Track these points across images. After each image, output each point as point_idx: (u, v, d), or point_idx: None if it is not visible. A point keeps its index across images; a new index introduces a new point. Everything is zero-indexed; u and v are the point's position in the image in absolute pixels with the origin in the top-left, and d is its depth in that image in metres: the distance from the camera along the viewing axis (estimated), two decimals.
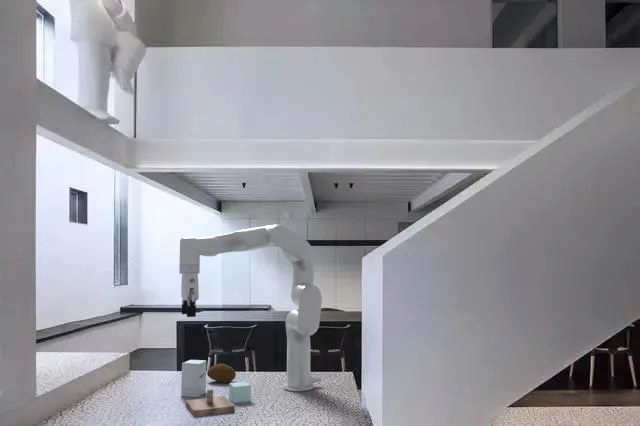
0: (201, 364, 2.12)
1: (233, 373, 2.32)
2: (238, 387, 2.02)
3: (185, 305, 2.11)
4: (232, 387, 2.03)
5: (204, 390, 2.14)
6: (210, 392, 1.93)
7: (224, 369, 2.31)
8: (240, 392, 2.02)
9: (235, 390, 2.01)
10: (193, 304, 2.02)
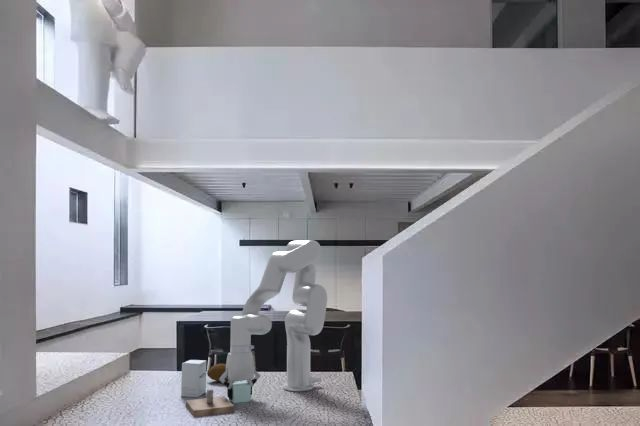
0: (201, 364, 2.12)
1: None
2: (238, 387, 2.02)
3: None
4: (232, 387, 2.03)
5: (204, 390, 2.14)
6: (210, 392, 1.93)
7: (224, 369, 2.31)
8: (240, 392, 2.02)
9: (235, 390, 2.01)
10: None
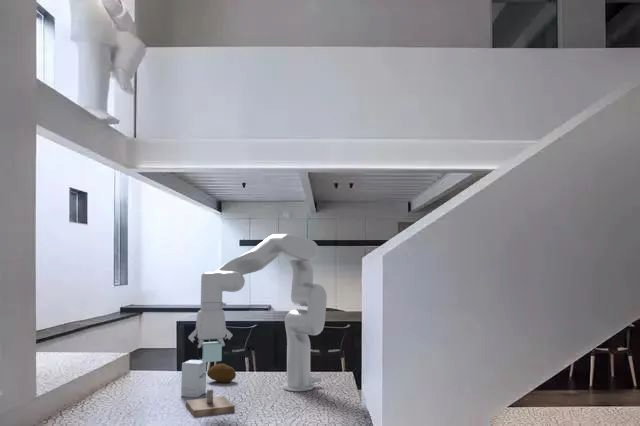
0: (201, 364, 2.12)
1: (233, 373, 2.32)
2: (208, 346, 1.91)
3: None
4: (202, 346, 1.93)
5: (204, 390, 2.14)
6: (210, 392, 1.93)
7: (224, 369, 2.31)
8: (210, 351, 1.92)
9: (205, 349, 1.91)
10: None
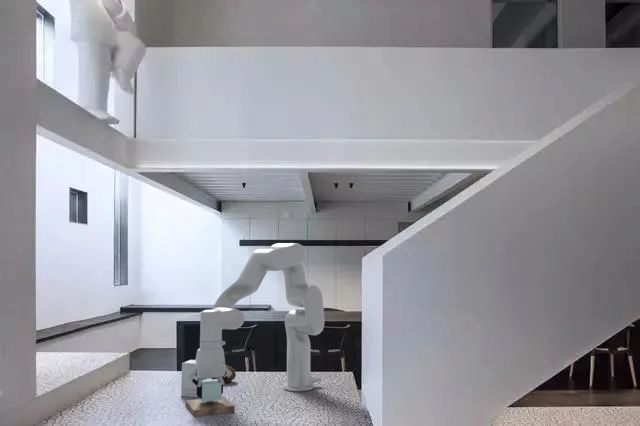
0: None
1: (233, 373, 2.32)
2: (207, 385, 1.90)
3: None
4: (201, 385, 1.92)
5: None
6: None
7: None
8: (210, 390, 1.91)
9: (204, 388, 1.90)
10: None
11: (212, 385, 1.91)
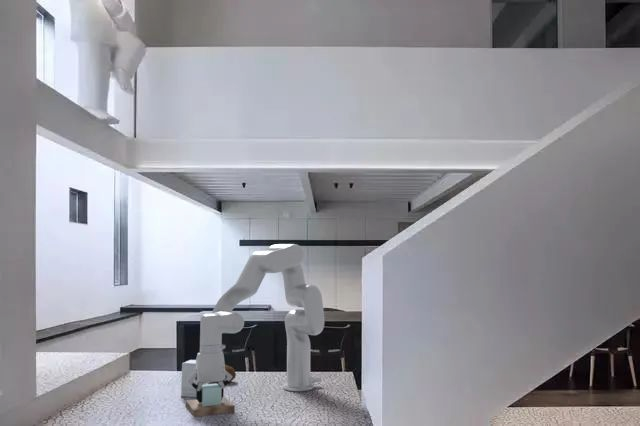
0: None
1: (233, 373, 2.32)
2: (208, 389, 1.90)
3: None
4: (201, 389, 1.92)
5: None
6: None
7: None
8: (210, 395, 1.91)
9: (204, 392, 1.90)
10: None
11: (212, 389, 1.91)
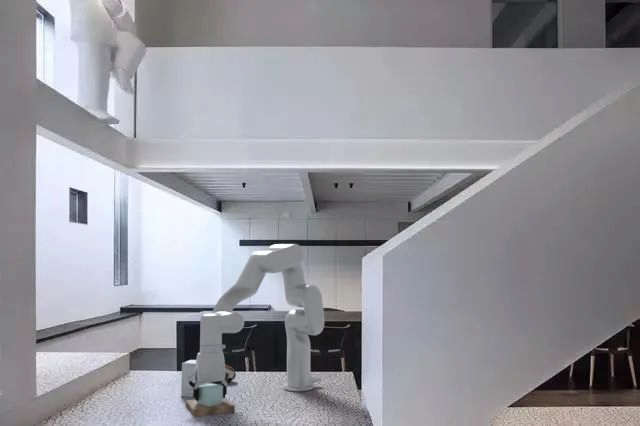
0: None
1: None
2: (213, 389, 1.91)
3: None
4: (205, 390, 1.91)
5: None
6: None
7: None
8: (214, 394, 1.91)
9: (210, 392, 1.90)
10: None
11: (216, 389, 1.92)
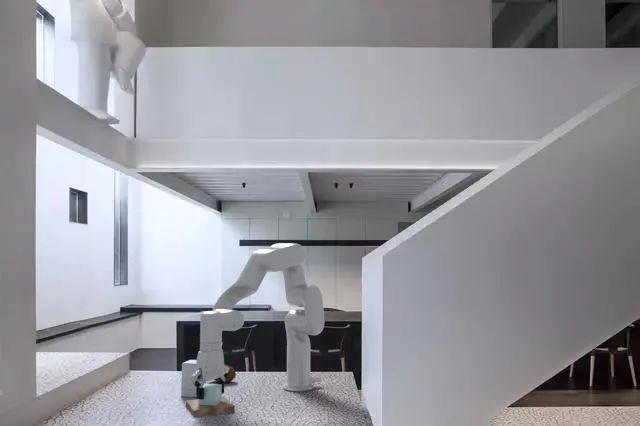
0: None
1: (233, 373, 2.32)
2: (217, 388, 1.92)
3: None
4: (210, 390, 1.91)
5: None
6: None
7: None
8: (218, 393, 1.93)
9: (216, 392, 1.91)
10: None
11: (219, 387, 1.94)
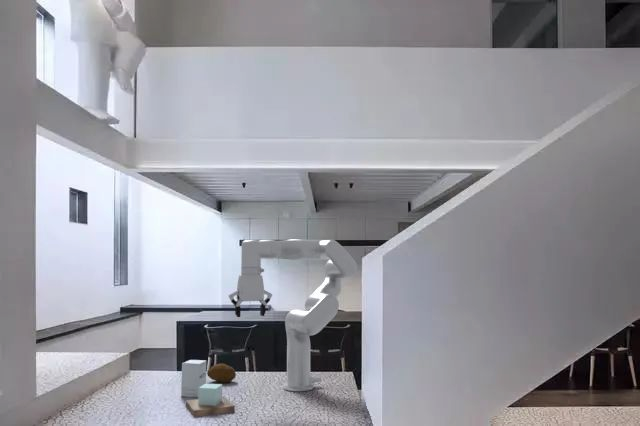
0: (201, 364, 2.12)
1: (233, 373, 2.32)
2: (217, 388, 1.92)
3: None
4: (210, 390, 1.91)
5: None
6: None
7: (224, 369, 2.31)
8: (218, 393, 1.93)
9: (216, 392, 1.91)
10: None
11: (219, 387, 1.94)
